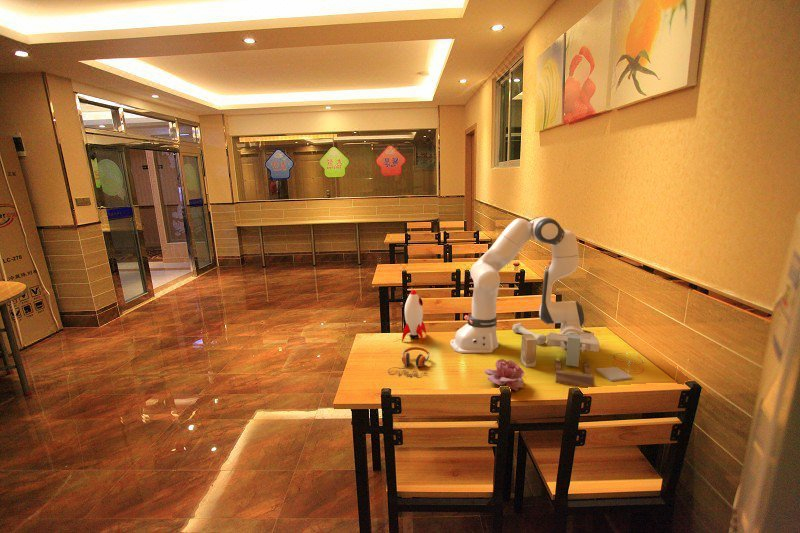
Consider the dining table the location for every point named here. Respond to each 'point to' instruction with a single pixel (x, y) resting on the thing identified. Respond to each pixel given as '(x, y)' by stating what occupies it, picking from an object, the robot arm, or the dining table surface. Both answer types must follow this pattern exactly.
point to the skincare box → (528, 350)
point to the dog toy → (520, 329)
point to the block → (573, 350)
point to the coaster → (613, 373)
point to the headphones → (419, 360)
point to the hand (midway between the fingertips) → (573, 349)
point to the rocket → (414, 316)
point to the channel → (574, 376)
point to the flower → (506, 374)
